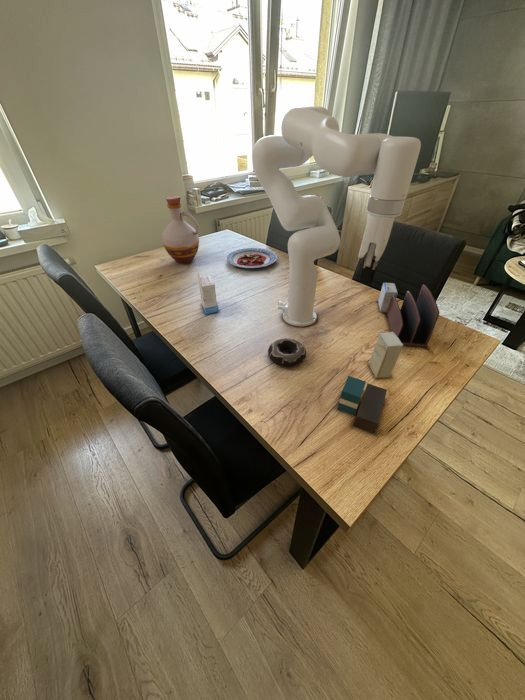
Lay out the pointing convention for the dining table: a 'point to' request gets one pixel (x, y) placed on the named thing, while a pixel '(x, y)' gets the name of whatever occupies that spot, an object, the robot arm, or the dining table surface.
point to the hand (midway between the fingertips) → (366, 281)
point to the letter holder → (414, 318)
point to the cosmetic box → (385, 354)
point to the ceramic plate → (251, 258)
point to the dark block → (370, 408)
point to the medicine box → (386, 296)
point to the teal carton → (351, 395)
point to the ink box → (207, 294)
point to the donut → (287, 359)
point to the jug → (180, 233)
